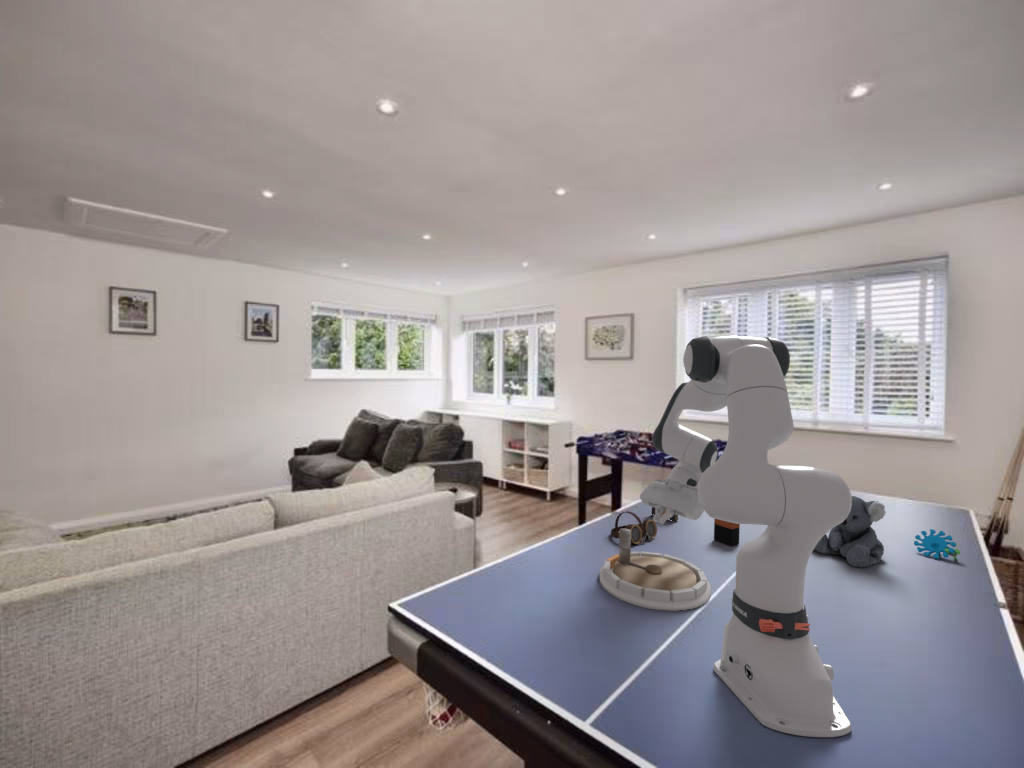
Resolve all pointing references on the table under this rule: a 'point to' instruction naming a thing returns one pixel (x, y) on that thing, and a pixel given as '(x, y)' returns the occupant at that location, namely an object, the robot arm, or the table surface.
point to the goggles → (637, 529)
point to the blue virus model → (936, 544)
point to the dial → (650, 569)
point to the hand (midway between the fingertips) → (657, 521)
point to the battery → (726, 532)
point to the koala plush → (856, 535)
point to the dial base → (655, 603)
